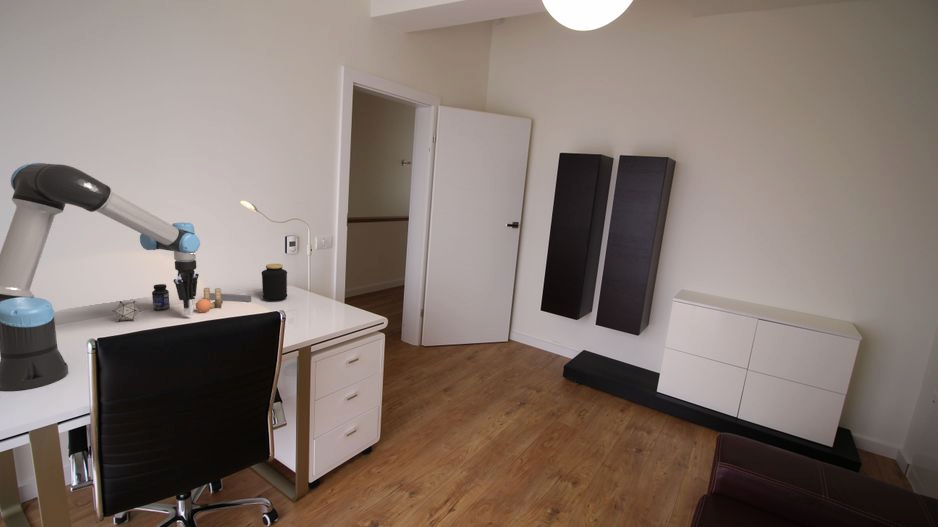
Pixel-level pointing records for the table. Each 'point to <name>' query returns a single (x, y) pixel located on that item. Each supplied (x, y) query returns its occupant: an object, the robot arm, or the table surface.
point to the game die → (126, 311)
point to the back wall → (232, 297)
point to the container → (274, 282)
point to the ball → (203, 305)
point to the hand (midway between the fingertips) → (188, 314)
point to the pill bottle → (160, 297)
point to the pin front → (214, 304)
